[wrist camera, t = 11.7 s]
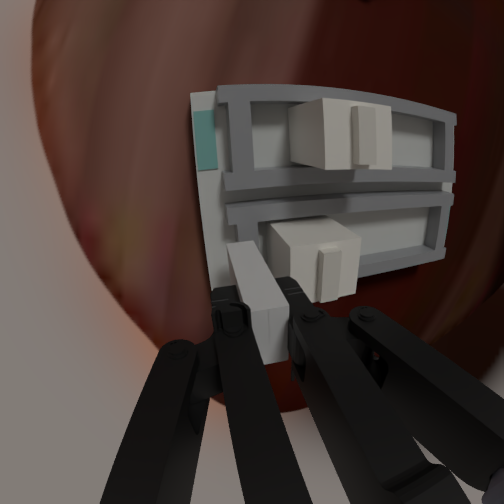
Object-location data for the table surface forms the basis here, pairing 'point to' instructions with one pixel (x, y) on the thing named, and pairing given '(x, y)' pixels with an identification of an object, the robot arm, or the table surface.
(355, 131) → the tab
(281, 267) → the tab
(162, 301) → the table surface
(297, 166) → the switch plate
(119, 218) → the table surface
